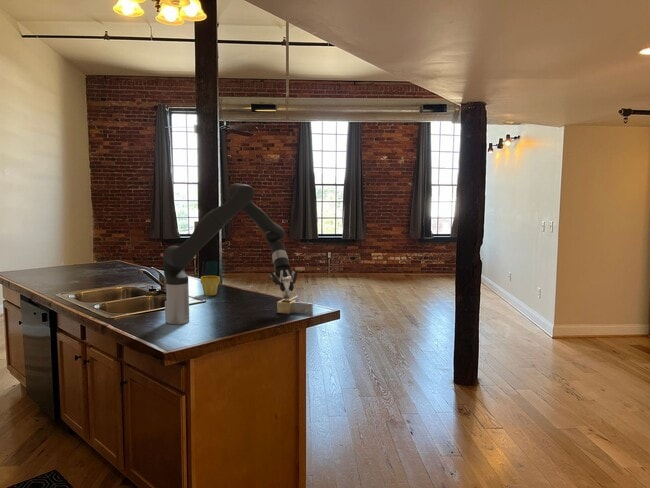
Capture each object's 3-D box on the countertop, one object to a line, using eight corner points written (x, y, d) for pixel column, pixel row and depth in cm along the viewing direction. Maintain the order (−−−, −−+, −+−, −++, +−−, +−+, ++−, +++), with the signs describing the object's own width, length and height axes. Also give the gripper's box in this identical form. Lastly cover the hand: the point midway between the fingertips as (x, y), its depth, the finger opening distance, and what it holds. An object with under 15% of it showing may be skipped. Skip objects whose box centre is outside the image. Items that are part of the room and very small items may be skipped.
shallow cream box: (277, 312, 229) (277, 302, 228) (291, 305, 244) (291, 295, 244) (309, 315, 223) (309, 305, 223) (322, 307, 239) (322, 297, 238)
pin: (279, 298, 229) (279, 277, 228) (284, 296, 233) (283, 275, 232) (289, 299, 227) (288, 278, 226) (293, 297, 232) (293, 276, 230)
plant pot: (218, 291, 276) (217, 274, 275) (221, 295, 267) (221, 277, 266) (199, 293, 272) (199, 276, 271) (202, 296, 263) (202, 279, 262)
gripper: (267, 257, 233) (274, 286, 223) (296, 255, 237) (303, 285, 227) (265, 266, 238) (271, 295, 228) (293, 265, 243) (300, 293, 233)
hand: (287, 290), depth 228 cm, fingers closed on pin, 3 cm apart
